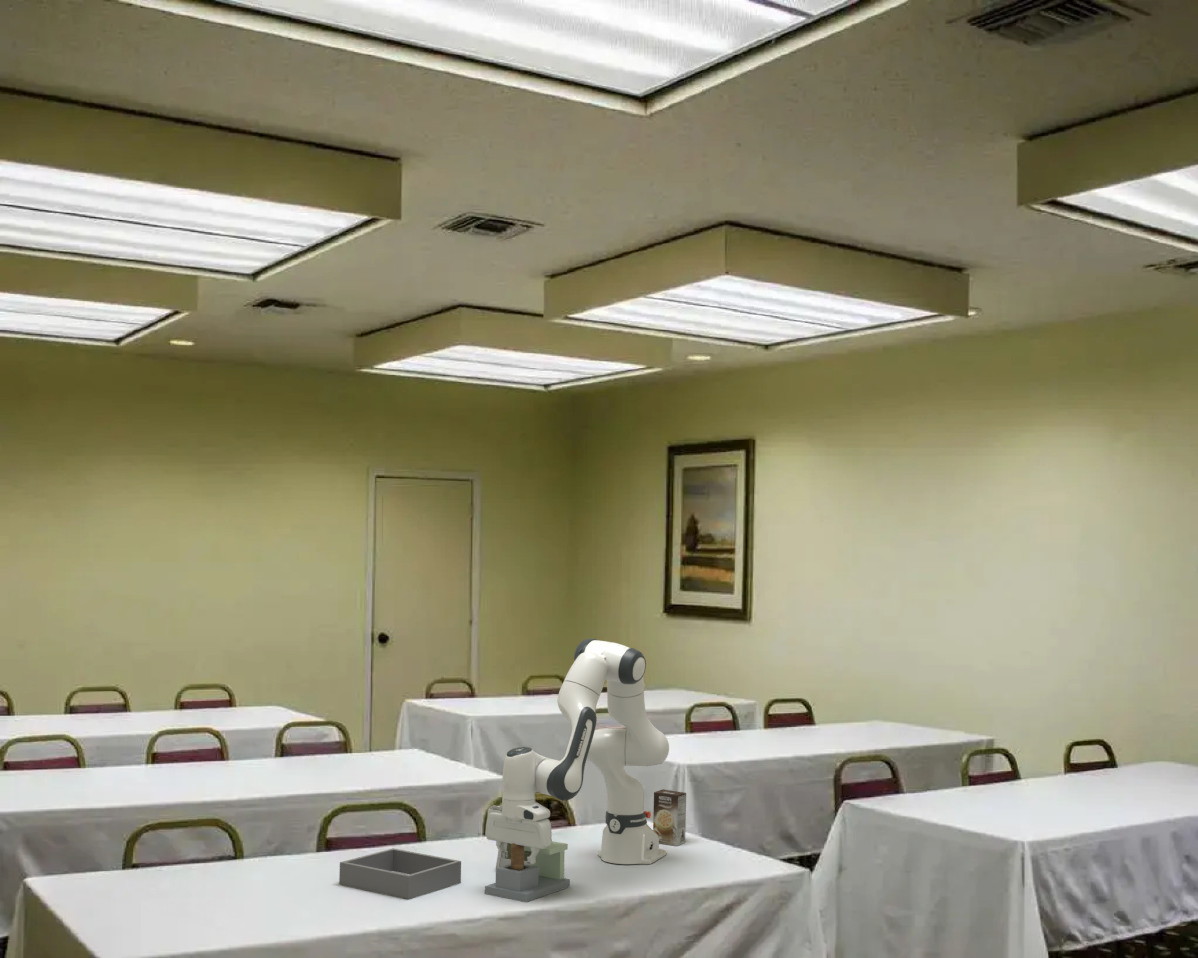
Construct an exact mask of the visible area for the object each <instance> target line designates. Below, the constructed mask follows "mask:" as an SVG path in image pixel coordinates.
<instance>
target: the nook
mask: <svg viewBox="0 0 1198 958" xmlns="http://www.w3.org/2000/svg"><path fill="white" fill-rule="evenodd" d="M568 845H569V844H568V843H565V842H560V841H559V842H558V841H553V840H552V841H551V844H550V846H549V847H547V848H544V849H539V852H538V854H537V855H536V862H535V863H534V864H531V865H525V864H524V869H523V870H520V871H517V870H512V869H511V864H508V865H505V866H501V867H498V868H496V867H495V882H492V883H491V884H487V885H484V894H485V895H490V896H495V897H500V898H505V899H509V900H513V901H518V902H523V903H524V902H525V903H528V902H531V901H534V900H537V899H540V898H543V897H544V896H548V895H550V894H553V893H556V892H559V891H561V890H564V889H568V888H570V887H571V879H570V878H565V855H566V854H565V851H567V850H568ZM524 851H530V852H531V853H532V851H531V847H528V846H524Z"/></svg>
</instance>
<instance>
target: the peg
mask: <svg viewBox="0 0 1198 958" xmlns="http://www.w3.org/2000/svg"><path fill="white" fill-rule="evenodd" d="M511 869H512V870H517V871H520V870H523V869H524V846H522V845H517V844H515V843H512V844H511Z"/></svg>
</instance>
